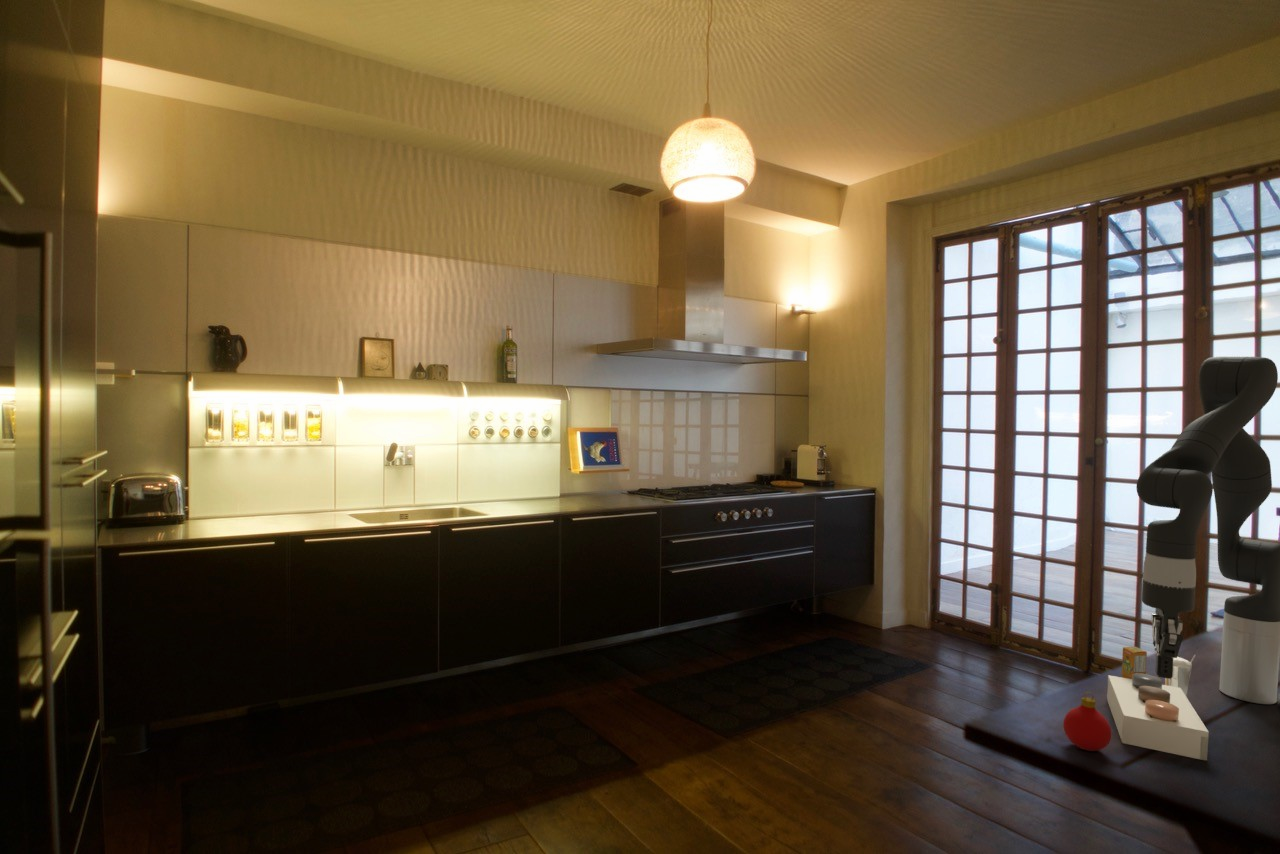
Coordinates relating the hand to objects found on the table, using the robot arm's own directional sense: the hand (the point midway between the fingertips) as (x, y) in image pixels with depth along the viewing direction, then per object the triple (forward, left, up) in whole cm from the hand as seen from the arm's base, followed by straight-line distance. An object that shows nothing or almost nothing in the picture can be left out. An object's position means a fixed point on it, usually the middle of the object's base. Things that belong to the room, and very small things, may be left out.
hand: (1163, 676), depth 125 cm
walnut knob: (-7, 0, -12) cm, 14 cm away
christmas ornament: (+10, -12, -12) cm, 20 cm away
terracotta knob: (0, 0, -12) cm, 12 cm away
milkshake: (-25, +7, -12) cm, 29 cm away
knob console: (-7, 0, -12) cm, 14 cm away
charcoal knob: (-15, 0, -12) cm, 19 cm away
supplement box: (-23, -1, -12) cm, 26 cm away
